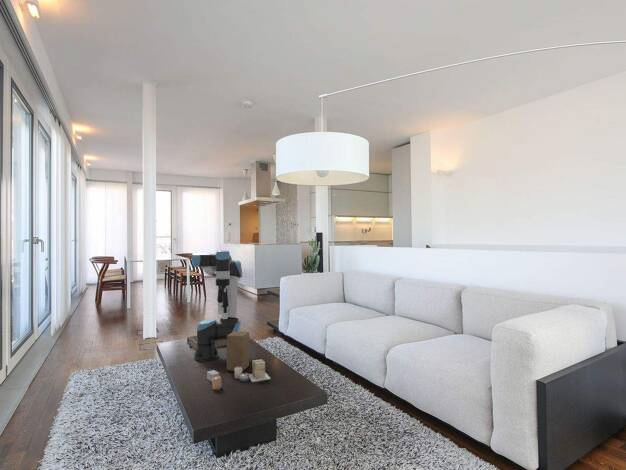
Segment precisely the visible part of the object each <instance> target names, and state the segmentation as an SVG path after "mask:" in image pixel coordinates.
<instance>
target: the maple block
mask: <svg viewBox="0 0 626 470" xmlns="http://www.w3.org/2000/svg"><path fill="white" fill-rule="evenodd" d="M251 364H252V366H251V367H252V371H251V372H252V373H251V374H252V376H253V377H254V378H255V379H258V378H264V377H265V372H266V362H265V361H264V360H263V359H262V358H261V359H256V360H254V359H253V360H252V363H251Z"/></svg>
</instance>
